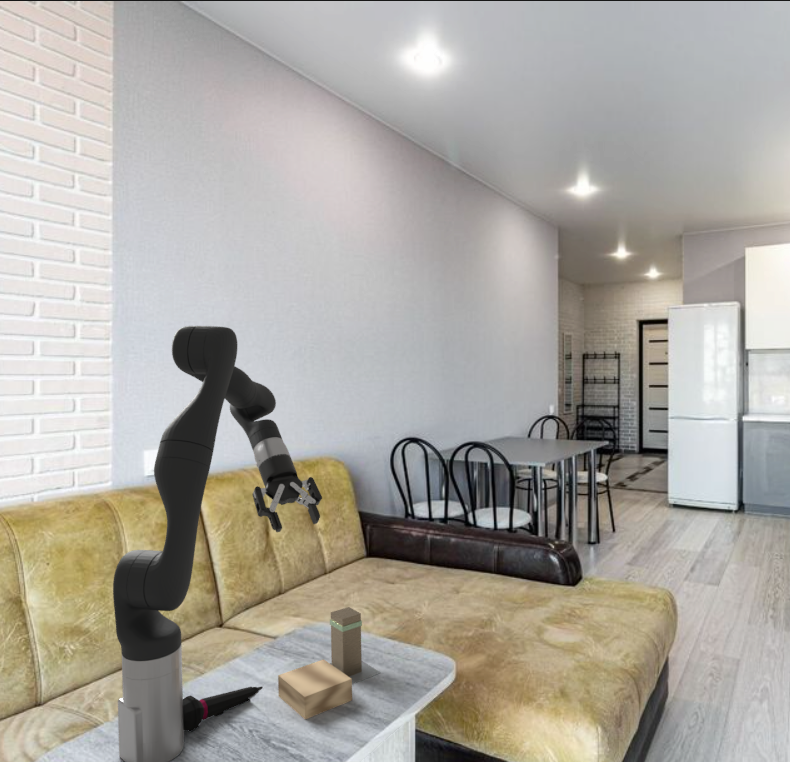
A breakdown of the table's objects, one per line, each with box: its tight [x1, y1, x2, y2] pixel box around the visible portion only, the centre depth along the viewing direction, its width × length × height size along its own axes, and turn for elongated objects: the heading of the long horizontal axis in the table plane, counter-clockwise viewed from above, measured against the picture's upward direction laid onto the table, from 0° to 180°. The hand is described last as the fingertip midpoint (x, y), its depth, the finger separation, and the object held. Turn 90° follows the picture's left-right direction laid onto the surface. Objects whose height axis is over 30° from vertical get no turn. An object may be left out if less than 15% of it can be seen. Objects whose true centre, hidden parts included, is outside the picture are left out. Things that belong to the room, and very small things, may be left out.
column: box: [329, 606, 363, 677], centre depth 128 cm, size 5×5×12 cm
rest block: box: [277, 659, 353, 720], centre depth 118 cm, size 10×10×5 cm
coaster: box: [329, 660, 382, 685], centre depth 128 cm, size 10×10×1 cm
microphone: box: [183, 685, 264, 732], centre depth 116 cm, size 6×6×20 cm
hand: (298, 526), depth 132 cm, fingers open, 8 cm apart
